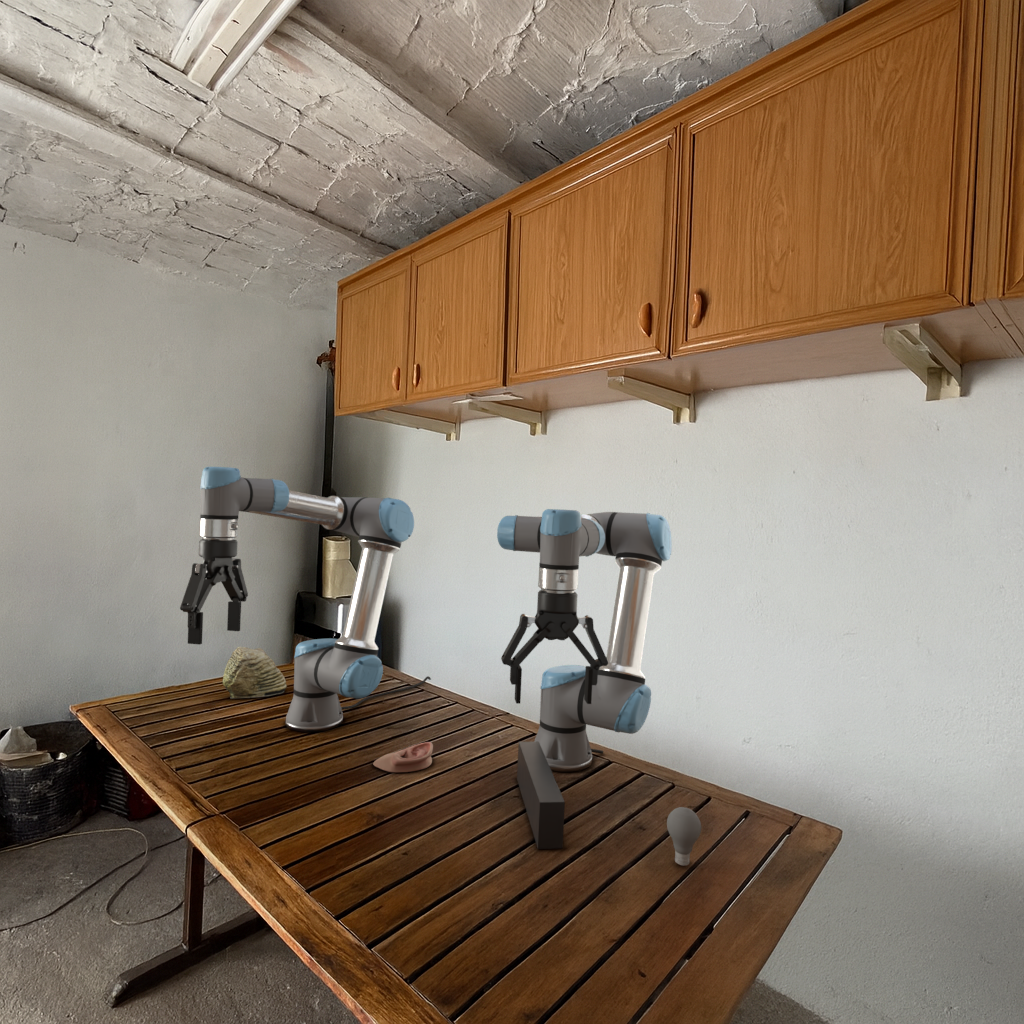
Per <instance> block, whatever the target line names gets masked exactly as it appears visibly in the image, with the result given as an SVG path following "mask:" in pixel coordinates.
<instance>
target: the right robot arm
mask: <svg viewBox="0 0 1024 1024" xmlns="http://www.w3.org/2000/svg"><path fill="white" fill-rule="evenodd" d="M671 531H672V530H671V528H670V524H669V521H668V520H667V518H666V517H665V516H664V515H661V514H657V513H655V514H654V513H650V512H647V513H642V512H640V513H639V512H638V513H637V512H621V511H620V512H618V511H617V512H616V511H604V512H603V511H602V512H601V511H600V512H595V513H582V514H581V513H580V511H579V510H577V509H576V510H575V509H561V508H560V509H556V508H546V509H545V510H543V511H542V513H541V516H532V515H531V516H529V515H528V516H527V515H526V516H525V515H517V514H515V515H505V516H503V517H502V518H501V519H500V521H499V523H498V526H497V533H496V534H497V535H496V538H497V539H496V540H497V542H498V545H499V546H500V547H501V548H502V549H504V550H508V551H513V552H527V553H538V554H539V566H538V583H537V587H538V588H539V589H540V590H538V591H537V606H536V613H535V616H532V615H527V614H525V613H521V614H520V616H519V622H518V626H517V627H516V630H515V631H514V633H513V635H512V637H511V639H510V640H509V643H508V644H507V646H506V648H505V650H504V651H503V653H502V654H501V657H500V660H501V662H502V664H503V665H505V666H508V667H509V668H510V669H509V681H510V685H514V701H515V704H521V698H522V697H521V695H522V677H523V676H522V675H523V669H522V666H521V664H522V663H523V662H524V660H525V659H526V658H527V657H528V656H529V655H530V654H531V653H532V651H534V649H535V648H537V646H538V645H539V644H540V643H541V642H543V641H544V640H548V641H554V640H559V641H565V640H567V639H568V638H569V640H570V641H571V642H572V643H573V646H574V647H576V648H577V650H578V651H579V652H580V654H581V656H583V657H584V659H585V661H586V662H587V663H588V664H589V665H585V666H584V665H579V664H578V665H577V664H564V665H563V664H562V665H556V666H552V667H549V668H547V669H545V670H544V671H543V673H542V676H541V685H540V687H539V688H540V702H539V703H540V704H539V705H540V707H539V708H540V709H539V727H538V730H537V733H536V735H535V738H534V741H533V742H539V743H540V746H541V748H542V750H543V753H544V755H545V757H546V760H547V762H548V764H549V767H550V769H551V771H552V772H553V771H555V772H562V773H571V772H572V773H573V772H579V771H582V770H585V769H588V768H589V767H591V765H592V764H593V753H595V754H599V755H603V754H604V750H600V749H596V748H591V745H590V741H589V737H588V733H587V726H592V727H596V728H601V729H604V730H609V731H612V732H615V733H625V734H628V735H629V734H630V735H633V734H637V733H638V732H639V731H640V730H641V729H642V728H643V727H644V724H645V722H646V720H647V717H648V715H649V712H650V708H651V703H652V697H651V696H652V690H651V688H650V686H648V685H647V684H646V676H645V675H644V673H643V672H642V671H641V667H642V660H643V653H644V646H645V638H646V632H647V625H648V618H649V612H650V605H651V598H652V591H653V584H654V576H655V574H656V573H657V572H659V571H660V570H661V569H662V565H663V562H667V561H669V560H670V559H671V555H672V547H673V543H672V532H671ZM595 554H599V555H602V556H607V557H608V556H609V557H615V559H614V563H615V564H616V565H617V566H618V569H619V570H618V571H619V572H618V579H617V585H616V591H615V596H614V597H615V598H614V605H613V610H612V616H611V623H610V624H611V625H610V629H609V635H608V642H607V647H606V653H605V652H604V649H603V647H602V644H601V642H600V640H599V637H598V636H597V633H596V631H595V629H594V627H595V626H594V619H593V618H592V617H591V616H590V615H588V614H586V615H584V616H582V617H581V616H580V617H578V593H577V592H576V591H577V590H578V589H579V570H580V566H579V565H580V557H587V558H588V557H590V556H593V555H595ZM532 624H534V625H535V626H536V627H537V629H536V630H535V631H534V632H533V634H532V636H531V637H530V638H529V639H528V640H527V641H526V643H525V644H523V646H522V647H521V648H520V649H519V650H518V651H517V652H516V650H517V648H518V646H519V645H520V643H521V641H522V639H523V638H524V636H525V633H526V631H527V629H528V628H530V627H531V626H532ZM579 625H580V626H581V628H583V629H584V630H585V633H586V634H587V637H588V639H589V641H590V644H591V646H592V648H593V650H594V654H595V655H596V659H595V658H594V657H593V655H592V654H591V652H589V651H588V649H587V648H586V646H585V645H584V644H583V642H582V641H581V640H580V638H579V637H578V636H577V635H576V634H575V632H574V631H575V630H576V628H577V627H579ZM515 652H516V654H515ZM514 654H515V655H514Z"/></svg>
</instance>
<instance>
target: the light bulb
mask: <svg viewBox="0 0 1024 1024" xmlns="http://www.w3.org/2000/svg"><path fill="white" fill-rule="evenodd" d="M666 828H667V829H666V830H667V832H668V833H669V836H670V838H671V840H672V843H673V849H674V851H675V852H674V861H675V863H676V864H678V865H680V866H682V867H683V866H688V865H690V859H691V857H690V856H691V852H692V851H693V847H694V844H695V843H696V841H697V840H698V839H699V837H700V835H701V833H702V823H701V820H700V817H698V815H697V813H696V812H695V811H693V810H692V809H691V808H689V807H686V806H684V807H683V806H679V807H676V808H674V809H673V810H671V812H669V814H668V816H667V819H666Z"/></svg>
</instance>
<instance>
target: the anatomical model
mask: <svg viewBox="0 0 1024 1024" xmlns="http://www.w3.org/2000/svg"><path fill="white" fill-rule="evenodd" d="M433 751H434V744H433V743H432V742H430V741H426V742H422V743H418V744H414V745H411V746H408V747H406V748H403V749H401V750H397V751H394V752H390V753H387V754H385V755H382V756H381V757H378V758H377V759H375V760H374V762H373V763H372V764H373V766H374V767H375V768H378V769H380V770H382V771H385V772H388V773H408V772H416V771H420V770H424V769H426V768H428V767H430V766H431V765H432V763H433V758H432V756H431V755H432V754H433Z"/></svg>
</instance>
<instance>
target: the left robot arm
mask: <svg viewBox="0 0 1024 1024" xmlns="http://www.w3.org/2000/svg"><path fill="white" fill-rule="evenodd" d="M241 476H242V475H241V471H240V469H239V468H237V467H230V466H229V467H228V466H227V467H226V466H205V467H204V468H203V469H202V472H201V480H200V486H199V487H200V488H199V489H200V507H199V508H200V509H199V510H200V511H199V517H200V518H199V526H198V527H199V529H198V536H199V537H200V538H201V539H200V540H198V556H199V557H201V558H202V559H203V561H202V563H197V562H196V563H195V562H194V563H192V566H191V573H190V577H189V580H188V583H187V586H186V588H185V591H184V595H183V598H182V600H181V603H180V606H179V610H180V611H182V612H183V613H187V644H189V645H198V646H201V645H203V627H204V612H203V611H201V610H202V608H203V606H204V604H205V602H206V601H207V598H208V597H209V594H210V592H211V591H212V588H214V586H216V585H217V584H218V583H221V584H222V586H223V588H224V590H225V592H226V593H227V595H228V597H229V600H230V601H228V603H227V622H226V623H227V624H226V626H227V628H226V631H229V632H240V631H241V619H242V618H241V615H242V602H246V601H247V598H248V596H249V592H248V588H247V585H246V581H245V576H244V573H243V569H242V559H241V558H235V557H237V556H238V541H237V539H236V538H237V537H238V532H239V531H238V530H239V529H238V528H239V515H240V512H243V513H250V514H255V515H256V514H257V515H262V516H268V517H273V518H274V517H275V518H279V519H286V520H291V521H298V522H304V523H308V524H309V523H310V524H315V525H321V526H322V527H323V528H324V529H325V530H331V531H334V532H339V533H342V534H346V535H350V536H353V537H356V538H358V539H357V543H358V544H359V546H360V547H361V552H360V557H359V561H358V566H357V569H356V574H355V579H354V584H353V588H352V592H351V596H350V600H349V606H348V610H347V614H346V618H345V623H344V628H343V632H342V635H341V636H340V637H339V638H331V637H329V638H317V639H316V638H315V639H308V640H304V641H301V642H299V643H298V644H297V645H296V646H295V652H294V656H293V658H294V670H293V671H294V672H293V695H292V696H293V697H292V699H291V702H290V704H289V708H288V711H287V713H286V715H285V726H286V728H287V729H289V730H291V731H294V732H295V731H296V732H301V733H316V732H325V731H329V730H332V729H335V728H337V727H339V726H340V725H342V723H343V722H344V714H343V710H350V709H354V708H356V707H358V706H359V705H361V704H362V703H363V702H366V701H368V700H370V699H371V700H372V699H374V698H378V697H382V696H387V695H390V694H394V693H399V692H403V691H408V690H410V689H413V688H416V687H418V686H420V685H423V684H424V683H426V681H427V680H429V681H431V680H432V678H431V677H430V676H425V678H424V679H423V680H422V681H420V682H417V683H414V684H413V685H409V686H406V687H402V688H399V689H397V688H396V689H394V690H389V691H385V692H379V693H377V694H373V695H371V694H372V692H374V691H375V690H376V689H377V688H378V686H379V685H380V682H381V681H382V677H383V675H384V665H383V663H382V660H381V659H380V658H379V656H378V653H379V647H378V645H377V644H376V642H375V641H376V636H377V631H378V626H379V621H380V617H381V612H382V609H383V605H384V599H385V595H386V589H387V585H388V581H389V576H390V571H391V567H392V562H393V558H394V555H395V554H396V553H398V552H400V551H401V547H402V543H403V542H406V541H407V540H408V539H409V538H410V537H411V536H412V534H413V532H414V529H415V519H414V514H413V513H414V512H412V510H411V507H410V506H409V504H408V503H407V502H405V501H404V500H402V499H397V498H391V497H370V496H369V497H368V496H361V497H360V496H353V497H351V496H350V497H349V496H347V497H345V496H338V495H330V496H328V497H325V496H321V495H320V496H319V495H315V494H310V493H305V492H300V491H297V490H291V489H289V486H288V485H287V483H286V482H285V481H283V480H281V479H274V478H256V477H252V478H251V477H241ZM339 695H340V696H342V697H345V698H351V699H355V700H356V699H357V700H358V699H360V700H359V701H357V702H356V703H355V704H352V705H348V706H347V705H346V706H345V705H344V706H341V702H340V699H339Z"/></svg>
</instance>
